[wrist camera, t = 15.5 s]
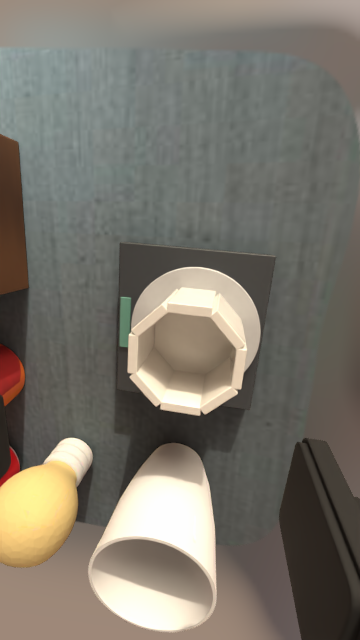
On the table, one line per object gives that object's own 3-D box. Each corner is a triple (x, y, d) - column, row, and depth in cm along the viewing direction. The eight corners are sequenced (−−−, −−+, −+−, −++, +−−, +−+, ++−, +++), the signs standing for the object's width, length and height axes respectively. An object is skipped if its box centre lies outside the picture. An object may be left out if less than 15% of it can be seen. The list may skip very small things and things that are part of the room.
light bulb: (107, 482, 29) (49, 600, 20) (48, 468, 30) (-35, 576, 21) (110, 429, 27) (47, 531, 18) (47, 416, 28) (-45, 507, 19)
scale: (126, 242, 22) (117, 242, 20) (272, 254, 21) (277, 256, 19) (122, 381, 26) (114, 392, 24) (248, 400, 24) (250, 414, 22)
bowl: (151, 284, 21) (129, 298, 16) (247, 294, 20) (253, 312, 15) (147, 369, 23) (126, 404, 18) (234, 382, 22) (236, 422, 17)
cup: (127, 430, 27) (74, 534, 18) (214, 426, 26) (206, 538, 16) (144, 500, 29) (104, 626, 20) (225, 500, 28) (224, 638, 18)
